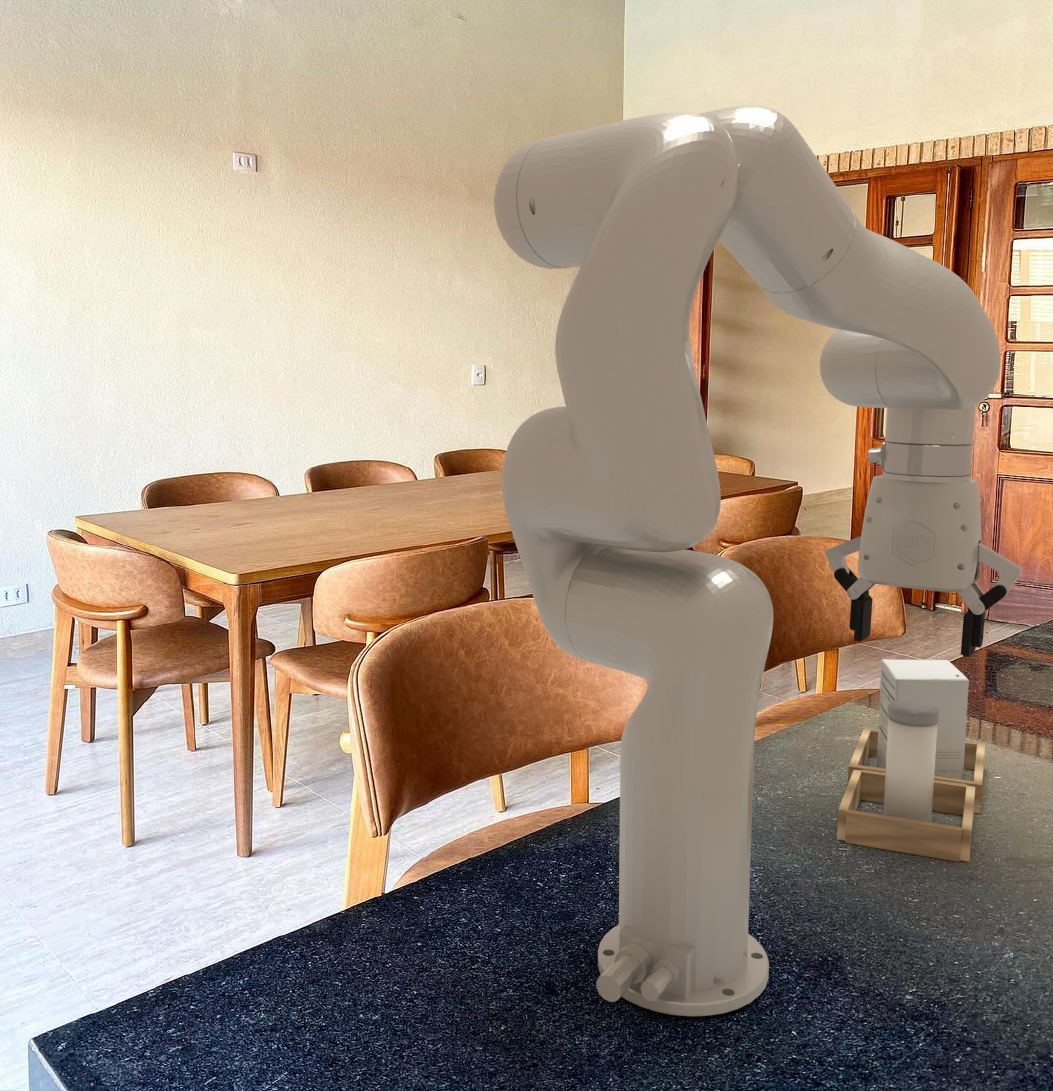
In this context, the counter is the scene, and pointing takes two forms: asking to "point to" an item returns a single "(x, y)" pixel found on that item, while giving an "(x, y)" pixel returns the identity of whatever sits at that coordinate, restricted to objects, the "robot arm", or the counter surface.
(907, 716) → the frosted tube
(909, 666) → the supplement box
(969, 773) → the counter surface
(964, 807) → the oak rack
